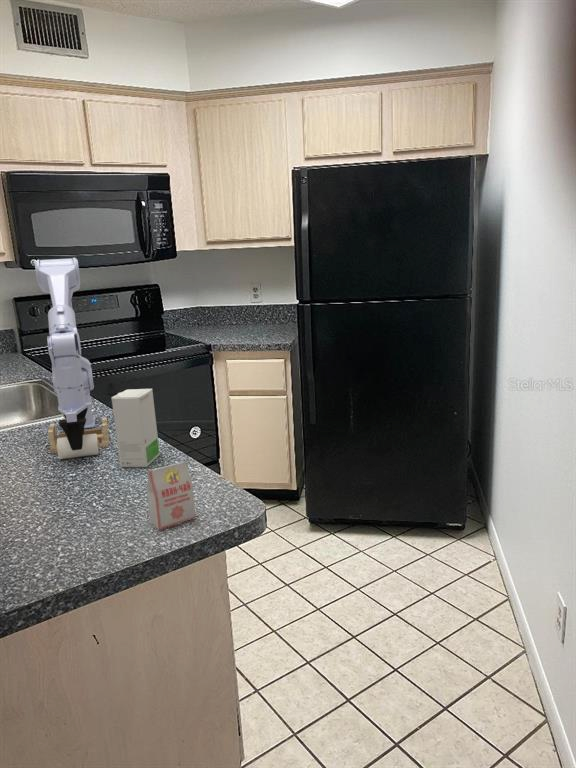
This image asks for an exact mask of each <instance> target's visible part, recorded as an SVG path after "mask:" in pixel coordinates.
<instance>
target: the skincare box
mask: <svg viewBox="0 0 576 768" xmlns="http://www.w3.org/2000/svg"><path fill="white" fill-rule="evenodd" d="M154 402H155V401H154V392H153V388H138V389H136V388H135V389H134V388H133V389H131V388H130V389H125V390H124V391H121V392H118V393H117V394H115V395H113V396H111V405H112V411H113V420H114V421H113V422H114V427H115V428H114V429H115V435H116V443H117V452H118V460H119V467H120V468H147V467H149V465H151V464H152V463H153V462H154V461H155V460H156V459H157V458H158V457H159V456H161V455H160V445H159V437H158V429H157V428H158V427H157V419H156V410H155V403H154Z"/></svg>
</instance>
